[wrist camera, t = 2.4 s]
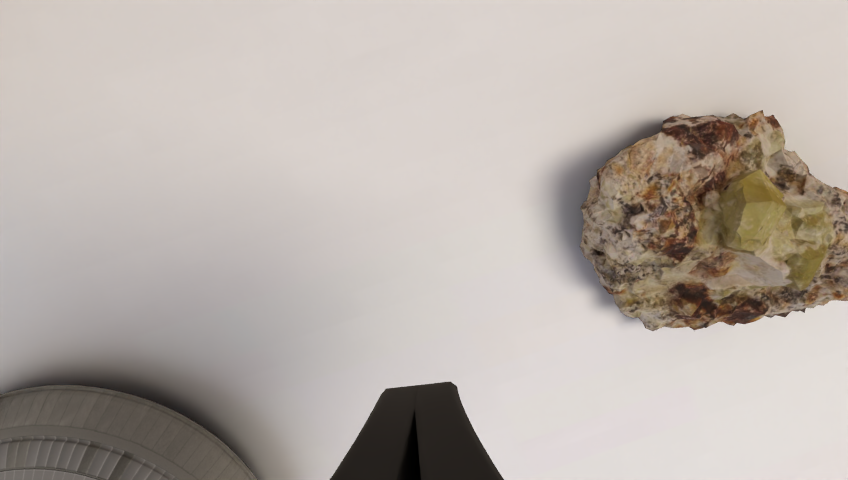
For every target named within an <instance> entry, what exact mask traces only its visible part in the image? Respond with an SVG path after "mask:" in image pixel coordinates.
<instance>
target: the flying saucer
mask: <svg viewBox="0 0 848 480" xmlns="http://www.w3.org/2000/svg"><path fill="white" fill-rule="evenodd" d="M0 480H257V478H256V477H255V475H254V474H253V473H252V471H251V470H250V469H249V468H248V467H247V465H246V464H245V463H244V462H243V461H242V460H241V459H240V458H239V457H238V456H237V455H236V454H235V453H234V452H233V451H232V450H231V449H230V448H229V447H228V446H227V445H226V444H225V443H223V442H222V441H221V440H220V439H218V438H217V437H216V436H215V435H213V434H212V433H211V432H209V431H208V430H206V429H205V428H203V427H202V426H200V425H199V424H197V423H196V422H194V421H192V420H191V419H189V418H187V417H185V416H183V415H181V414H180V413H178V412H176V411H174V410H171V409H169V408H167V407H165V406H163V405H160V404H157V403H155V402H152V401H150V400H147V399H144V398H141V397H138V396H134V395H131V394H127V393H123V392H119V391H114V390H110V389H104V388H98V387H89V386H77V385H51V386H39V387H31V388H25V389H20V390H16V391H12V392H8V393H4V394H1V395H0Z"/></svg>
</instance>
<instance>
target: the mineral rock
mask: <svg viewBox="0 0 848 480" xmlns="http://www.w3.org/2000/svg"><path fill="white" fill-rule="evenodd" d="M784 145H785V139H784V134H783V129H782V128H781V126H780V124H779V123H778V121H777V120H776V119H775V117H774V115H772V116H769V117H766V116H764V114H763V110H762V111H759V112H757V113H755V114H752V115H750V116H749V117H748V118H745V119H742V118H740V117H739V116H737V115H736V114H734V113H733V114H731V115H729V116H727V117H725V118H724V117H716V116H714V115H710V116H701V117H689V116H686V115H684V114H681V115H679V116H677V117H674V116H672V117H670V118H668V119H667V120H665V121H663V126H662V130H661V132H660V133H658V134H656V135H654V136H652V137H649V138H645V139H641V140H640V141H638V142H636V143H635V144H634V145H630V146H628V147H627V148H625V149H623V150H621V151H620V152H619V153H618V154H617V155H616V156H615V157H613V158H611V159H609V160H607V162H606V164H605V166H603V167H602V168H600V169H598V170H597V175H596V176H595V177H593V178H592V179H590V180H589V183H590V185H591V187H590V191H589V195H588V198H587V201H585V202H584V203H583V204H582V206H581V210H582V212H583V218H584V226H583V229H582V241H581V244H580V248H581V251H582V253H583V255H584V257H585V258H587V259H589V260H590V261H591V263H592V264H593V265H594V267H595V268H594V270H595V272H596V273H597V275H598V276H599V278H600V281H599V282H600V283H601V285H602V286H603V287H604V288H605V289H606V290H607V292H608V293H609V294H613V296H614V300H615V303H616V305H617V306H618V307H619V309H620V311H621V312H622V313H623V314H624V315H626V316H628V317H631V318H636V317H638V318H639V319H640V320H641V321H642V322H643V324H644V326H645V328H646V329H649V330H652V331H654V330H657V329H659V328H662V327H664V326H665V327H670V328H680V327H690V328H692V329H693V330H697V329H701V328H704V327H705V328H707V327H708V326H710V325H712V324H715V323H717V322H725V323H727V324H729V325H733V326H734V325H735V324H736V323H742V324H746V323H750V322H754V321H757V320H759V319H761V318H762V317H764V316H767V317H771V318H772V317H773V316H774V315H777V316H782V317H786V316H787V315H788V314H789V313H790V312H791V311H802V312H804V313H805V309H806V308H814V307H815V306H816V305H823V306H824V305H825V304H826V303H828V302H829V301H832V300H841V301H848V192H847V191H844V190H842V189H839V188H837V187H833V188H832V187H830V186H828V185H826V184H824V183H822V182H821V181H820V180H818V179H817V178H815V177H814V176H812V175H811V174H810V173H809V169H808V166H807V165H806V164H805V163H804V162H803V161H802V160H801V159H800V158H799V156H798V155H797V154H796V153H795V151H792V152H789V151H787V150H785V149H784Z"/></svg>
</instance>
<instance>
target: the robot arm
mask: <svg viewBox="0 0 848 480" xmlns="http://www.w3.org/2000/svg"><path fill="white" fill-rule="evenodd" d="M330 480H504V479H503V478H502V476H501V475H500V473H499V472H498V470H497V468H496V467H495V465H494V464H493V462H492V460H491V459H490V457H489V455H488V454H487V452H486V450H485V449H484V447H483V445H482V444H481V442H480V440H479V438H478V437H477V435H476V433H475V431H474V429H473V427H472V425H471V423H470V421H469V419H468V417H467V415H466V413H465V410H464V408H463V406H462V403H461V400H460V397H459V394H458V390H457V386H456V385H454V384H453V383H452V382H443V383H434V384H425V385H416V386H407V387H398V388H389V389H386V390H385V391H384V392H383V393H382V394H381V396H380V398H379V400H378V401H377V403H376V405H375V407H374V409H373V411H372V412H371V414H370V416H369V418H368V420H367V421H366V423H365V425H364V427H363V428H362V430H361V432H360V433H359V435H358V437H357V438H356V440H355V442H354V443H353V445H352V446H351V448H350V450H349V451H348V453H347V454H346V456H345V457H344V459H343V461H342V462H341V464H340V465H339V467H338V468H337V470H336V471H335V473H334V474H333V476H332V477H331V479H330Z"/></svg>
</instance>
